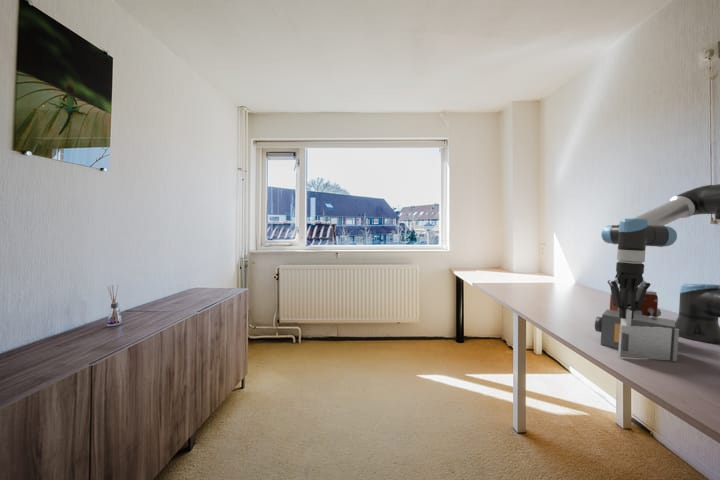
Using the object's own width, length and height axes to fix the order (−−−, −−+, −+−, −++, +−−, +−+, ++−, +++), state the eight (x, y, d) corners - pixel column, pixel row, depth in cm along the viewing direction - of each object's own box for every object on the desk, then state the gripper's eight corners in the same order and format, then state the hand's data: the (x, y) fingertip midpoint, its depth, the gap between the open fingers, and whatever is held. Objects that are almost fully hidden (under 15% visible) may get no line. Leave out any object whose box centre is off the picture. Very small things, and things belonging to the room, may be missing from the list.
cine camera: (673, 342, 128) (676, 294, 127) (618, 338, 132) (621, 290, 131) (656, 335, 137) (659, 289, 136) (605, 331, 141) (608, 286, 140)
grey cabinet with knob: (597, 336, 133) (599, 306, 133) (676, 353, 117) (679, 318, 116) (591, 343, 124) (593, 311, 124) (676, 362, 108) (679, 325, 107)
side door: (618, 356, 111) (620, 325, 110) (667, 358, 109) (669, 327, 109) (622, 358, 109) (624, 326, 108) (672, 361, 108) (674, 329, 107)
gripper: (641, 261, 115) (636, 325, 116) (603, 260, 116) (599, 323, 117) (659, 264, 108) (653, 332, 108) (618, 262, 109) (613, 329, 110)
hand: (625, 327), depth 113 cm, fingers closed
